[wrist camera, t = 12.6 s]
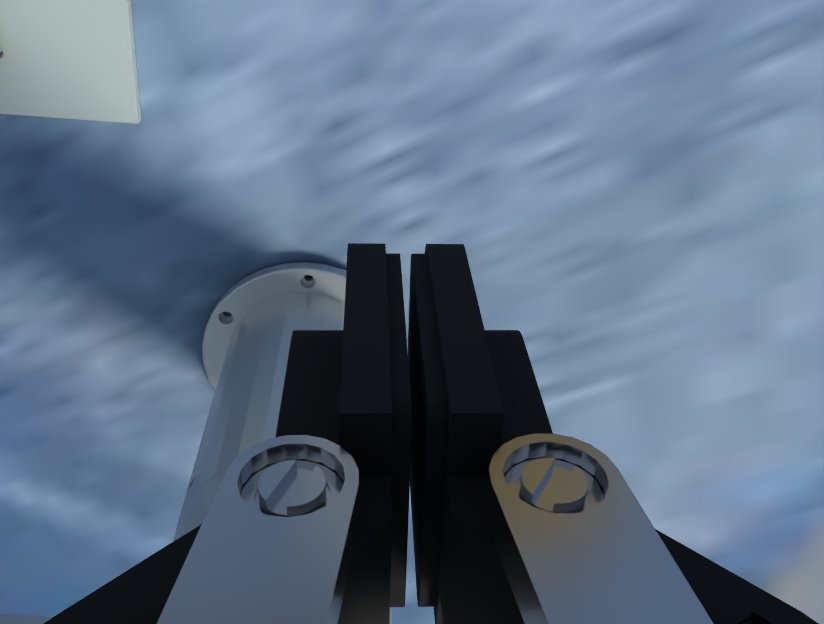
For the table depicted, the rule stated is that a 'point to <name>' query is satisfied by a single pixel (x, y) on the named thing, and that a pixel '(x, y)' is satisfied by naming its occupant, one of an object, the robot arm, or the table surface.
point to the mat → (69, 60)
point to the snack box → (1, 52)
